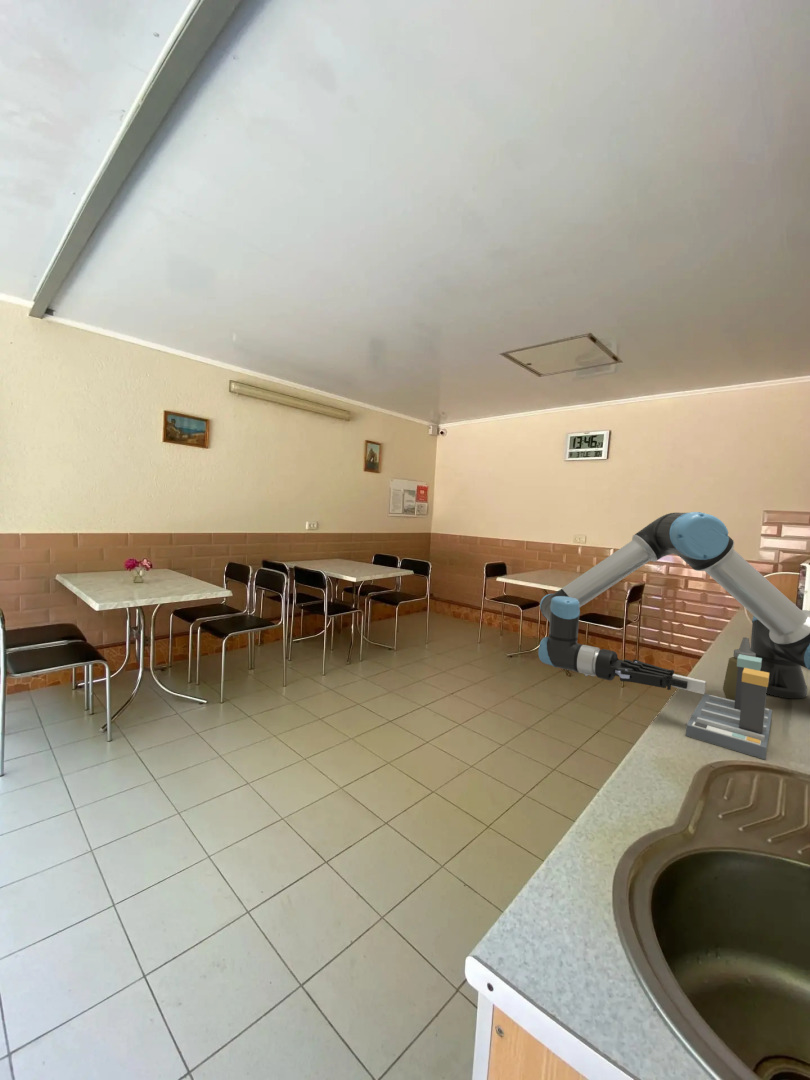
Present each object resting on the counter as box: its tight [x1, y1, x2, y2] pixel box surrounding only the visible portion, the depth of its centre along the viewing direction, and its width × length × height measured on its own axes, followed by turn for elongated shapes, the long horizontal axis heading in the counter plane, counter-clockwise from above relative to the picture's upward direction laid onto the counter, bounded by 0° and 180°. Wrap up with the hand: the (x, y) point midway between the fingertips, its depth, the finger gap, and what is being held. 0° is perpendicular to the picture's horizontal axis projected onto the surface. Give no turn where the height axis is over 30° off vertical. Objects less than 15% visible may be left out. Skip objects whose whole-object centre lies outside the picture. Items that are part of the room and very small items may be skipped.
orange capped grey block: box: [739, 668, 769, 735], centre depth 99 cm, size 4×4×13 cm
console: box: [685, 693, 773, 761], centre depth 107 cm, size 25×14×4 cm, turn 139°
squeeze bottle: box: [722, 637, 756, 701], centre depth 119 cm, size 8×8×18 cm
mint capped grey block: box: [734, 654, 762, 710], centre depth 109 cm, size 4×4×13 cm
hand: (704, 687), depth 104 cm, fingers closed
